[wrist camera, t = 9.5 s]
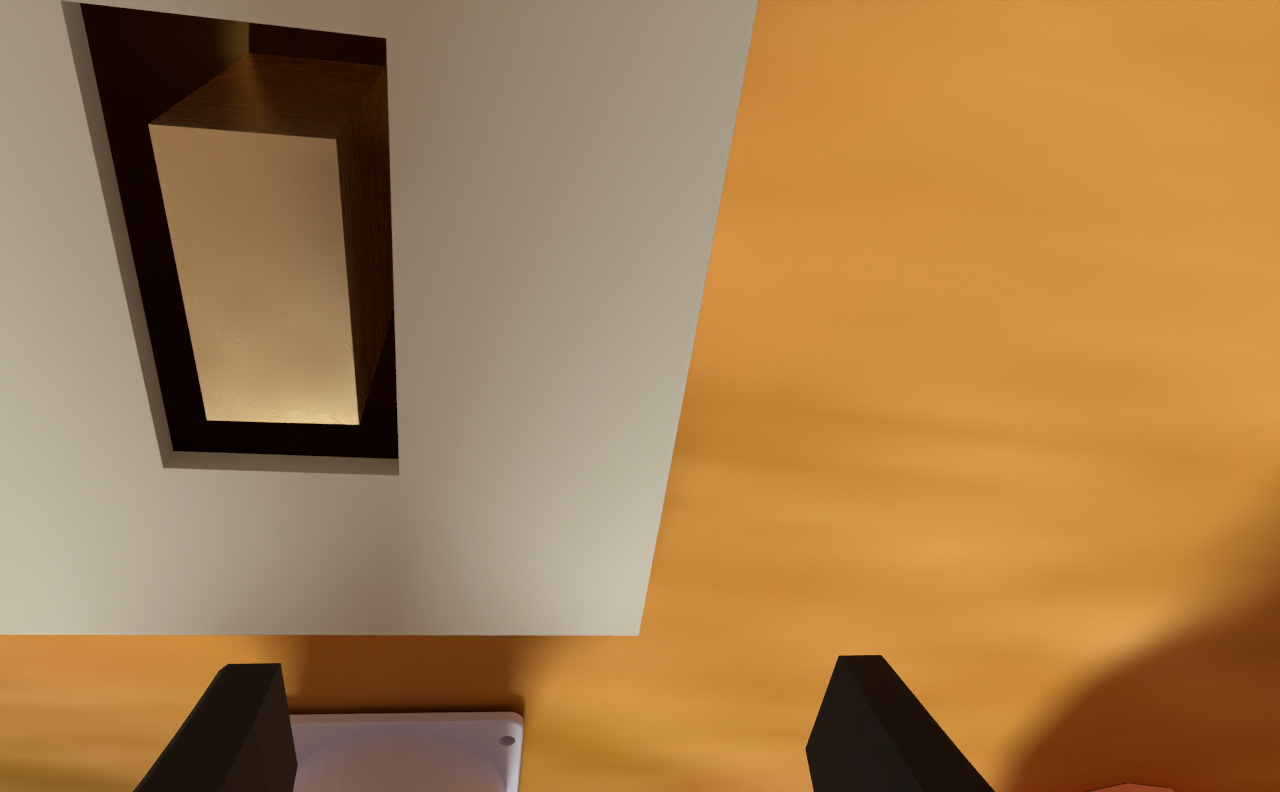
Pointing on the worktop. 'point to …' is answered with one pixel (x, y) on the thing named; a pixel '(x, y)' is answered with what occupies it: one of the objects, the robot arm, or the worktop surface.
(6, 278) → the box
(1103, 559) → the worktop surface
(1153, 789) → the potted cactus
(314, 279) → the wooden block
